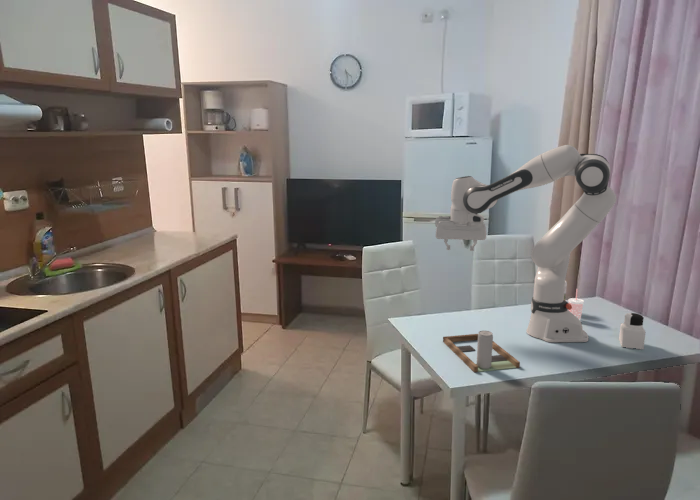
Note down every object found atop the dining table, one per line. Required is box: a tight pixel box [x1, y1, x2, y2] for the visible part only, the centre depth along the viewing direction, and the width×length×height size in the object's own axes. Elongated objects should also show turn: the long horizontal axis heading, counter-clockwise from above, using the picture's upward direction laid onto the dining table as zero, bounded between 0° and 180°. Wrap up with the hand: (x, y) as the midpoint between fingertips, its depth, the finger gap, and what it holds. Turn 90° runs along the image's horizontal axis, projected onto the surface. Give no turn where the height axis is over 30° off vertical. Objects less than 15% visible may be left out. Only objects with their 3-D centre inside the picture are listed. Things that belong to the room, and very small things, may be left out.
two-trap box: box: [442, 333, 521, 373], centre depth 183 cm, size 27×16×2 cm, turn 12°
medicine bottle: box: [618, 312, 646, 350], centre depth 189 cm, size 7×7×12 cm
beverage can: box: [476, 330, 494, 369], centre depth 170 cm, size 5×5×12 cm
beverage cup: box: [567, 288, 585, 321], centre depth 215 cm, size 6×6×14 cm
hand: (460, 250), depth 209 cm, fingers open, 8 cm apart
